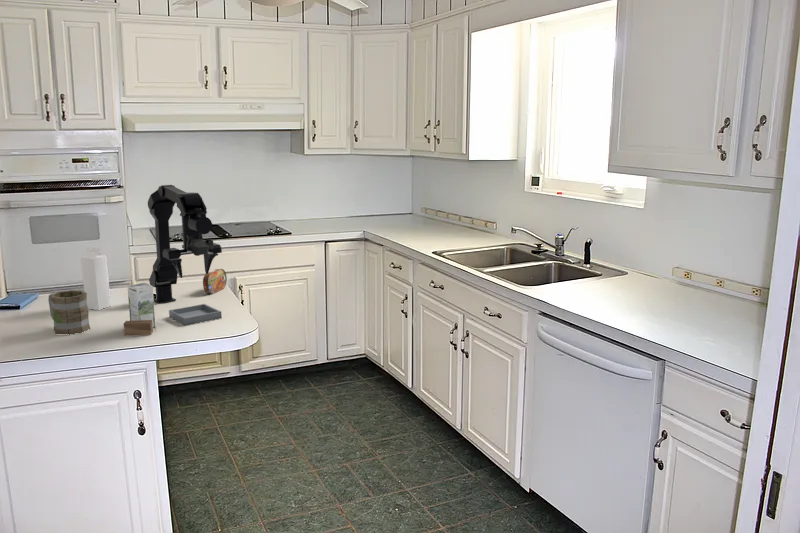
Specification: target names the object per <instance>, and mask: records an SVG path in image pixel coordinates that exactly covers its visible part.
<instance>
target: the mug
mask: <svg viewBox="0 0 800 533" xmlns="http://www.w3.org/2000/svg"><path fill="white" fill-rule="evenodd" d="M48 304H49V312H50V313H49V314H50V317H51V320H53V332H54V331H55V332H54V334H55V335H56V334H69V335H68V336H71V335H70V334H73V335H76V334H75V333H79V334H82V332H83V333H85V332H87V331H89V330H91V327H90V326H91V325H90V322H89V321H90V320H89V309H88V307H87V293H86V292H85V291H84V290H76V289H70V290H64V291H57V292H53V293H51V294H49V295H48ZM88 329H89V330H88ZM84 331H85V332H84Z"/></svg>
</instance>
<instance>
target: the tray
mask: <svg viewBox="0 0 800 533" xmlns="http://www.w3.org/2000/svg"><path fill="white" fill-rule="evenodd" d="M168 315H169V318H170V319H172V320H174V321H175V322H177V323H179V324H182V325H183V326H186V325H187V326H191V324H192V325H195V323H197V324H201V323H200V322H202V323H206V322H205V321H207V322H211V321H210V320H212V321H216V320H215V319H217V320H220V319H219V318H223V317H222V311H221V310H219V309H217V308H215V307H212V306H211V305H208V304H206V303H202V304H197V305H196V304H195V305H191V306H185V307H180V308H179V307H178V308H174V309H169V310H168Z"/></svg>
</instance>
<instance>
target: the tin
mask: <svg viewBox="0 0 800 533" xmlns="http://www.w3.org/2000/svg"><path fill="white" fill-rule="evenodd" d="M227 279H228V278H227V274H226V271H225V270H224V269H223V268H215V269H213V270H211V271H209V272H208V274H206V273H205V274H204V276H203V278H202V286H203V291H204V292H205V293H206V294H211V295H212V294H213V295H214V294H216V293H218V292H220V291H222V290H224V289H225V288H226V286H227V281H228V280H227Z"/></svg>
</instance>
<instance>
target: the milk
mask: <svg viewBox="0 0 800 533" xmlns="http://www.w3.org/2000/svg"><path fill="white" fill-rule="evenodd" d="M85 249H86V252H85V253H83V255H82V256H81V257H80V262H81V272H82V281H83V282H82V284H83V291H85V292H86V293H87V307H88V310H91V309H94V310H93V311H101V309H102V310H103V308H105V309H107V308H106V307H108V308H110V307H109V306H111V305H112V304H111V293H110V292H111V291H110V281H109V280H110V279H109V272H108V271H109V269H108V260H107V259H108V258H107V255H105V254H104V253H102V252H101V249H100V248H97V247H87V246H86V248H85Z"/></svg>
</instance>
